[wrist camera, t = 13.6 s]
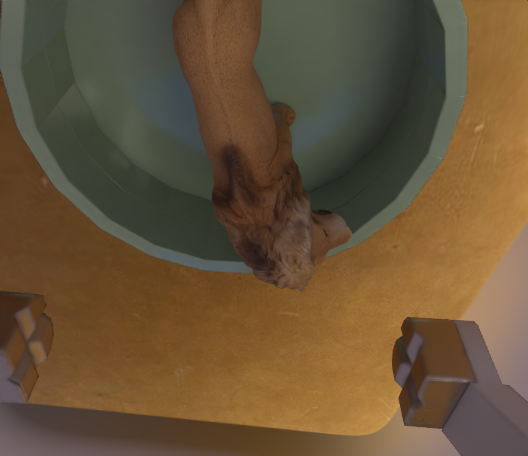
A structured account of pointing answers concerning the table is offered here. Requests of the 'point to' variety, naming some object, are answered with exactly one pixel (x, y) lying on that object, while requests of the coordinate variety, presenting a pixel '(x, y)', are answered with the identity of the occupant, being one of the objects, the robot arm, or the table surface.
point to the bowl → (277, 91)
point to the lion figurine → (250, 146)
